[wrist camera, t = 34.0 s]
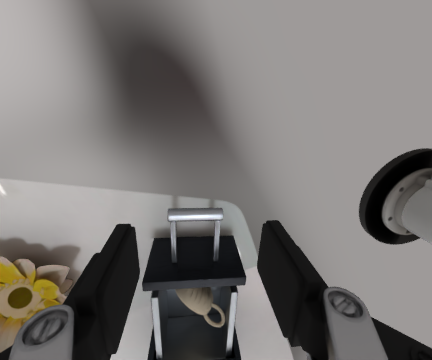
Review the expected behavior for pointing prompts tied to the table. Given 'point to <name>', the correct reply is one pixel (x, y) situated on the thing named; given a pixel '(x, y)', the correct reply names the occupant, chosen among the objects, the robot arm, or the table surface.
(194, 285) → the drawer with silver handle
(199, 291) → the decorative ornament
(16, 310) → the decorative flower
